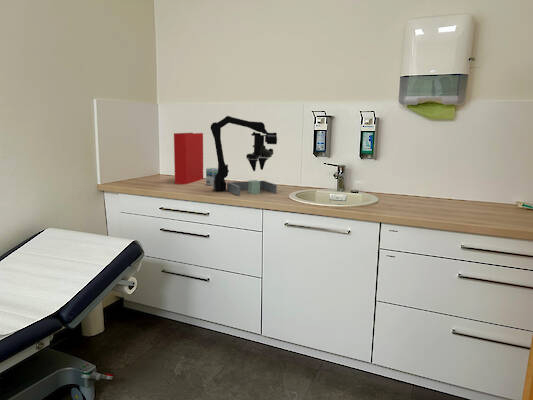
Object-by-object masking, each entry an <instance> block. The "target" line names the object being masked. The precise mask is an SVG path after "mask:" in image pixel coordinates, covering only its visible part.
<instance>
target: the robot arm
mask: <svg viewBox="0 0 533 400" xmlns="http://www.w3.org/2000/svg"><path fill="white" fill-rule="evenodd" d="M229 124H232V125H235V126H241V127H245V128H249V130H250V129H251V130H253V132H252V133H251V136H252V137H254V138H253V143H254V144H253V145H252V148H253V152H252V153H247V154H246V156H245V157H246V159H247V161H248V162H249V164H250V167H251V169H252V172H256V169H257V163H259V169H260V170H261V171H262V170H264V167H265V165H266V162H267V160H269V159H270V158H272V156H273V155H274V149H273V148H269V149H267V148H266V146H265V143H266V145H277V143H278V136H277V135H278V134H277V132H268V131H267V129H266V126H265V125H266V124H265V123H263V122H261V121H250V120H245V119H243V118H242V119H241V118H238V117H233V116H230V115H226V116H225V117H224V118H222V119H221V120H219V121H215V122H212V123H211V125H210V130H211V134H212V136H213V139H214V145H215V151H216V157H217V167H218V173H217V174H216V175H215V177H214V178H215V180H214V186H213V188H212V190H213V191H214V192H227V182H226V180H225V179H226V178H227V177H228V174H229V172H230V171H229V165H228V164H226V163H225V158H224V153H223V152H224V151H223V145H222V140H221V134H222V133H221V131H222V128H223V127H225V126H226V125H229ZM261 133H262V134H261Z"/></svg>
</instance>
